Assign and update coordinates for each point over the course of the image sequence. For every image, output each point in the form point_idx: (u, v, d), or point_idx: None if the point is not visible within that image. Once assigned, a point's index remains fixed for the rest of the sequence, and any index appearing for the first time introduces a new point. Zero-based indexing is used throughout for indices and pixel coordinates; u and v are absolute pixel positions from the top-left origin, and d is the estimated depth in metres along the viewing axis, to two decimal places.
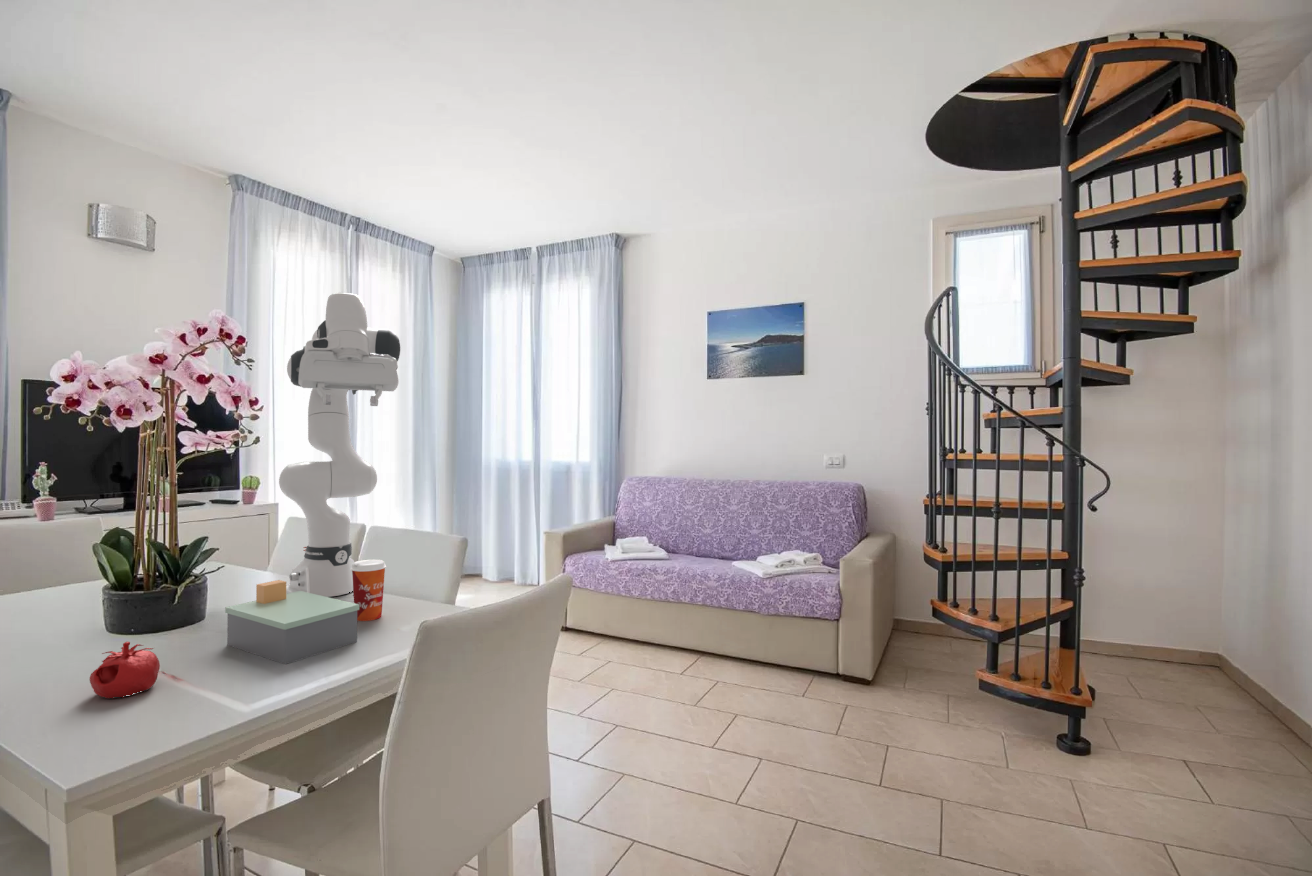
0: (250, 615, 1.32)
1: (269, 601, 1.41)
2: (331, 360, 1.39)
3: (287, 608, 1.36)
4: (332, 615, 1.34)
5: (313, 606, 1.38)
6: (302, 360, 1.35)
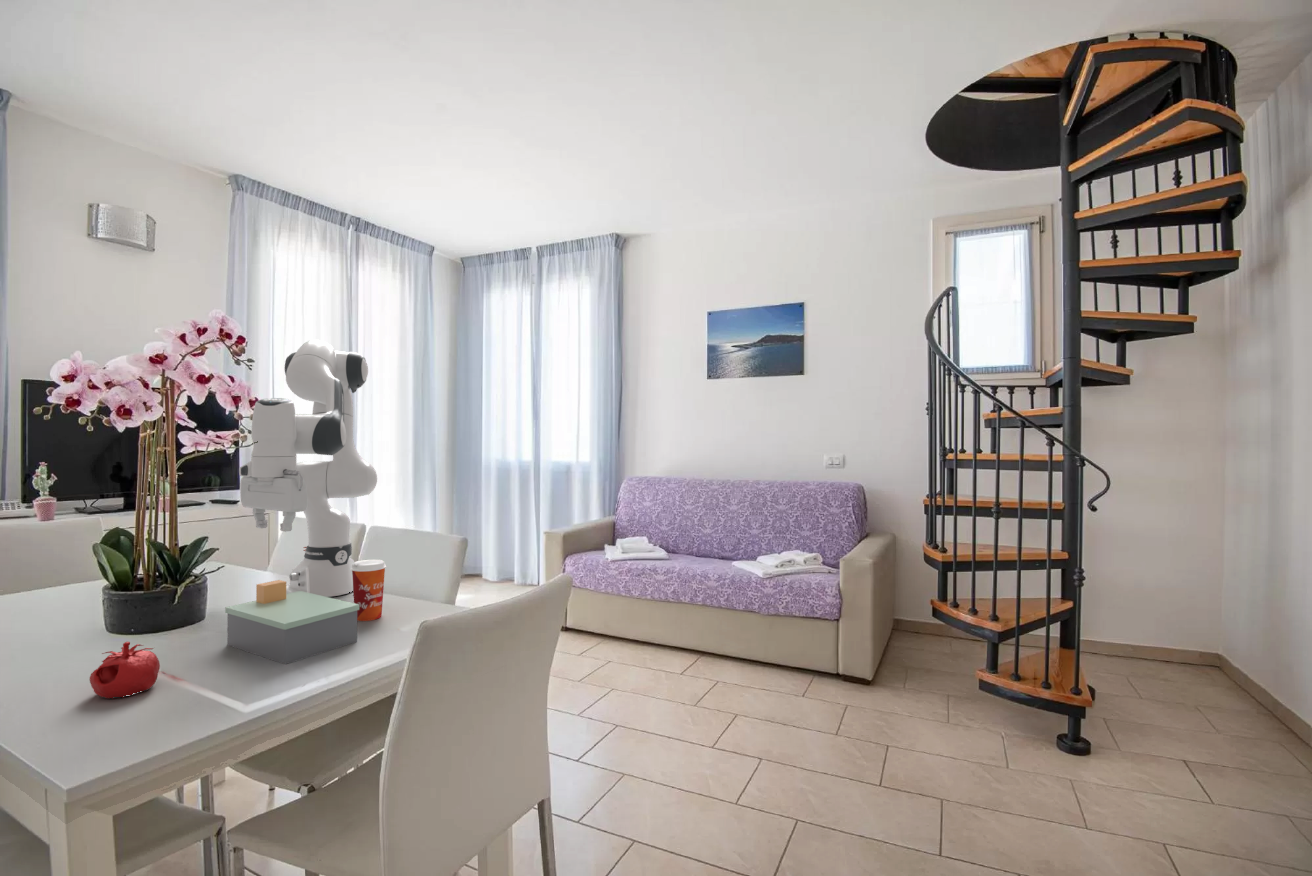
0: (250, 615, 1.32)
1: (269, 601, 1.41)
2: (257, 484, 1.42)
3: (287, 608, 1.36)
4: (332, 615, 1.34)
5: (313, 606, 1.38)
6: (240, 487, 1.45)
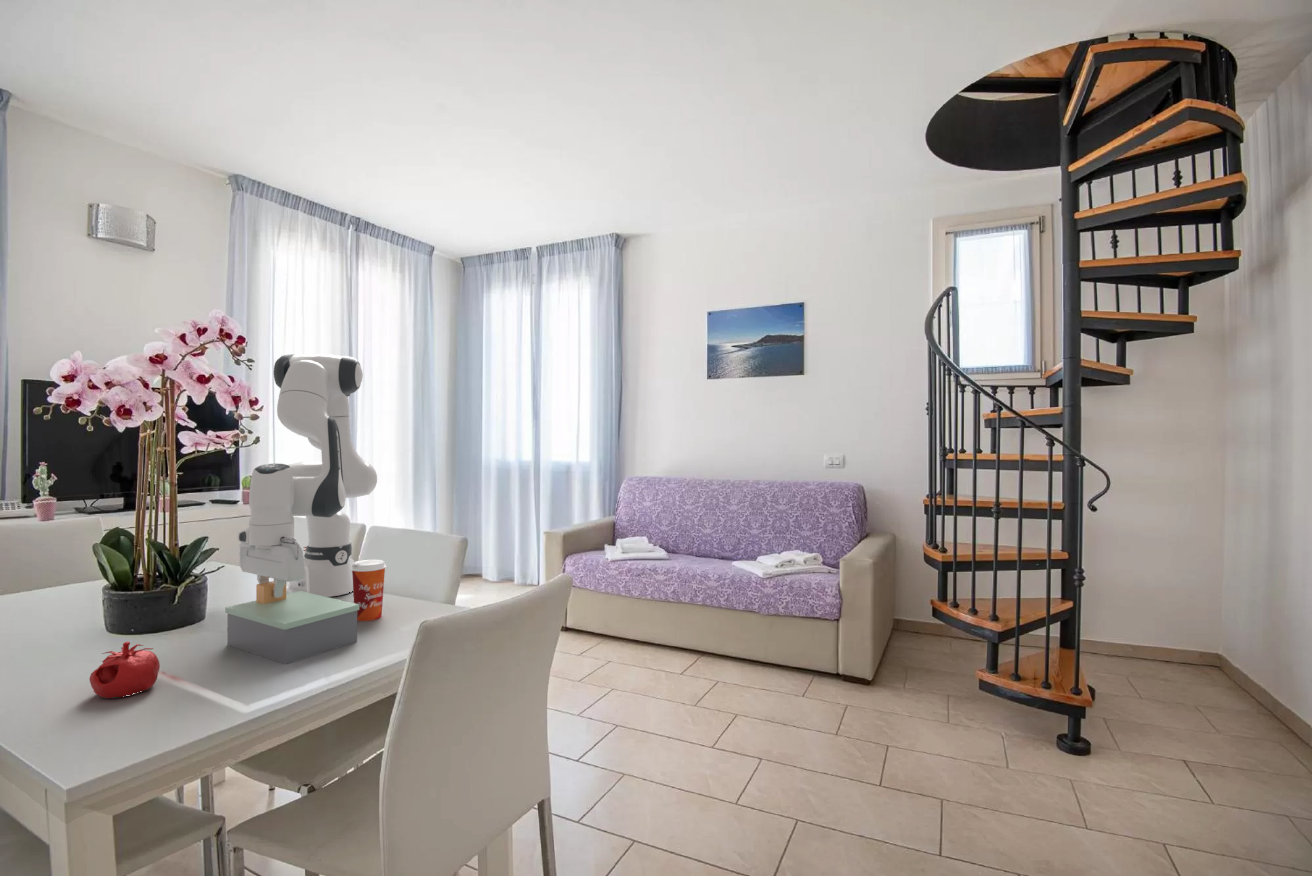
0: (250, 615, 1.32)
1: (269, 601, 1.41)
2: (255, 550, 1.43)
3: (287, 608, 1.36)
4: (332, 615, 1.34)
5: (313, 606, 1.38)
6: (239, 552, 1.45)
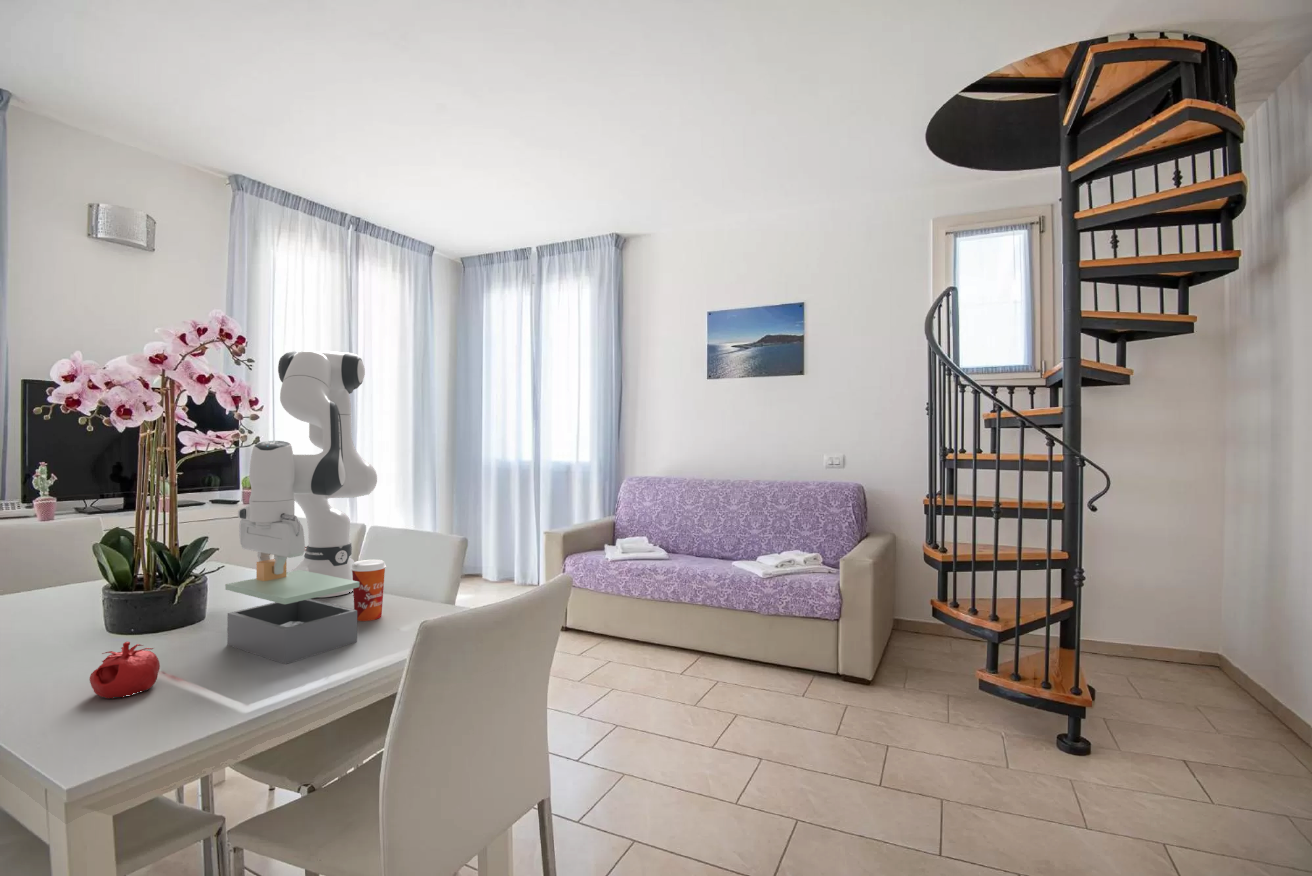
0: (250, 591, 1.32)
1: (269, 578, 1.41)
2: (255, 527, 1.43)
3: (287, 585, 1.36)
4: (332, 591, 1.34)
5: (313, 583, 1.38)
6: (239, 529, 1.45)
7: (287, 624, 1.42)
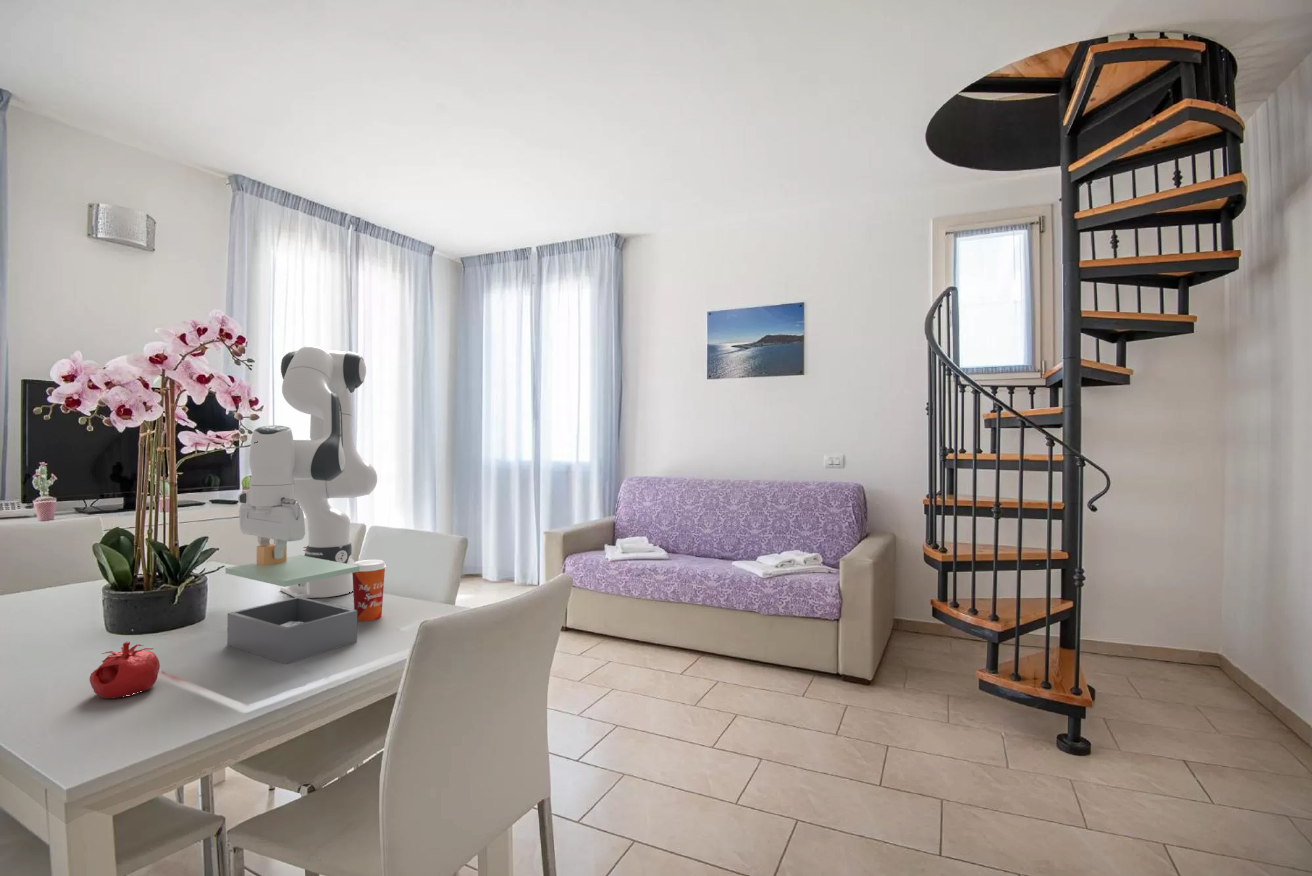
0: (250, 574, 1.32)
1: (269, 563, 1.41)
2: (255, 512, 1.43)
3: (287, 569, 1.36)
4: (332, 575, 1.34)
5: (313, 567, 1.38)
6: (239, 514, 1.45)
7: (287, 624, 1.42)
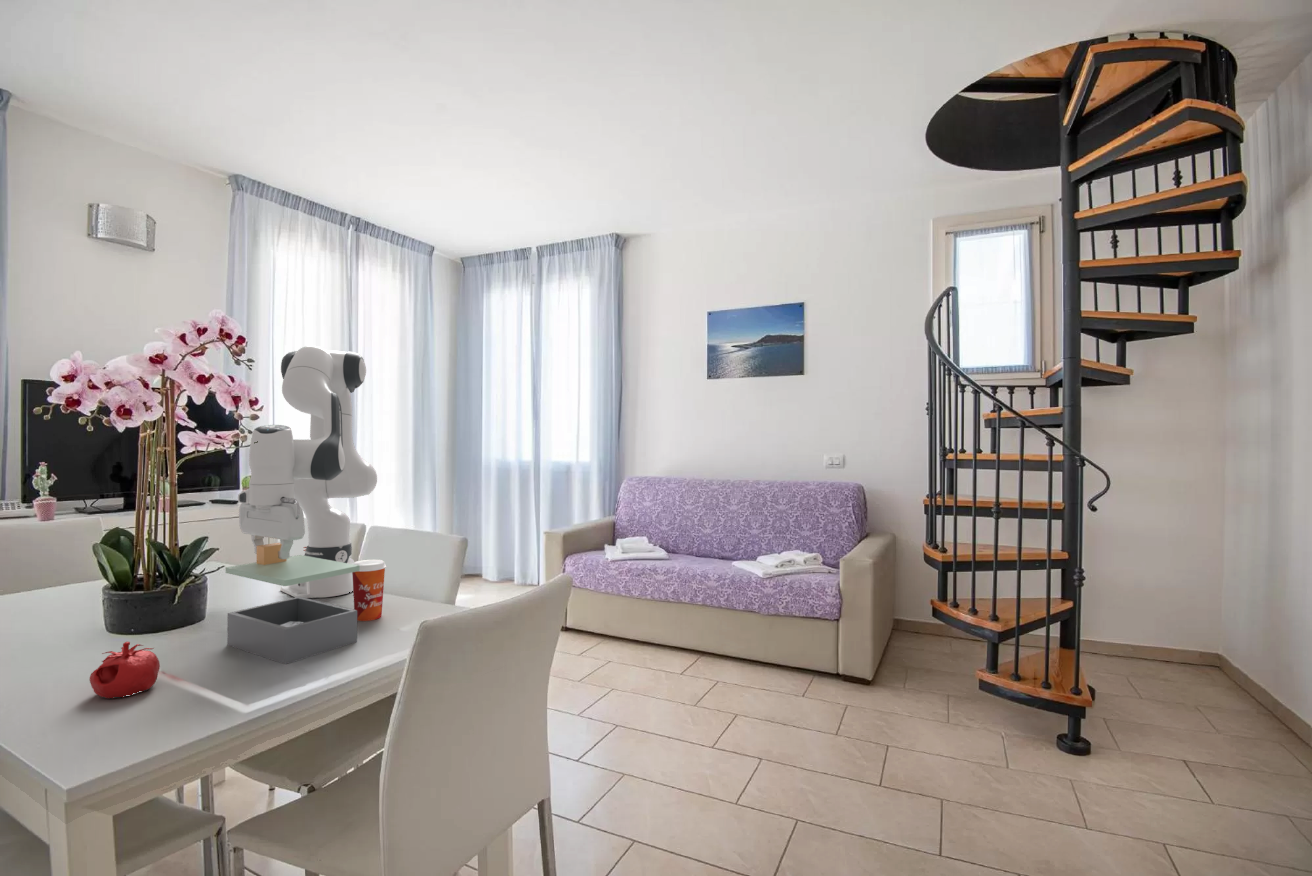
0: (250, 574, 1.32)
1: (269, 562, 1.41)
2: (255, 511, 1.43)
3: (287, 568, 1.36)
4: (332, 574, 1.34)
5: (313, 567, 1.38)
6: (239, 513, 1.45)
7: (287, 624, 1.42)
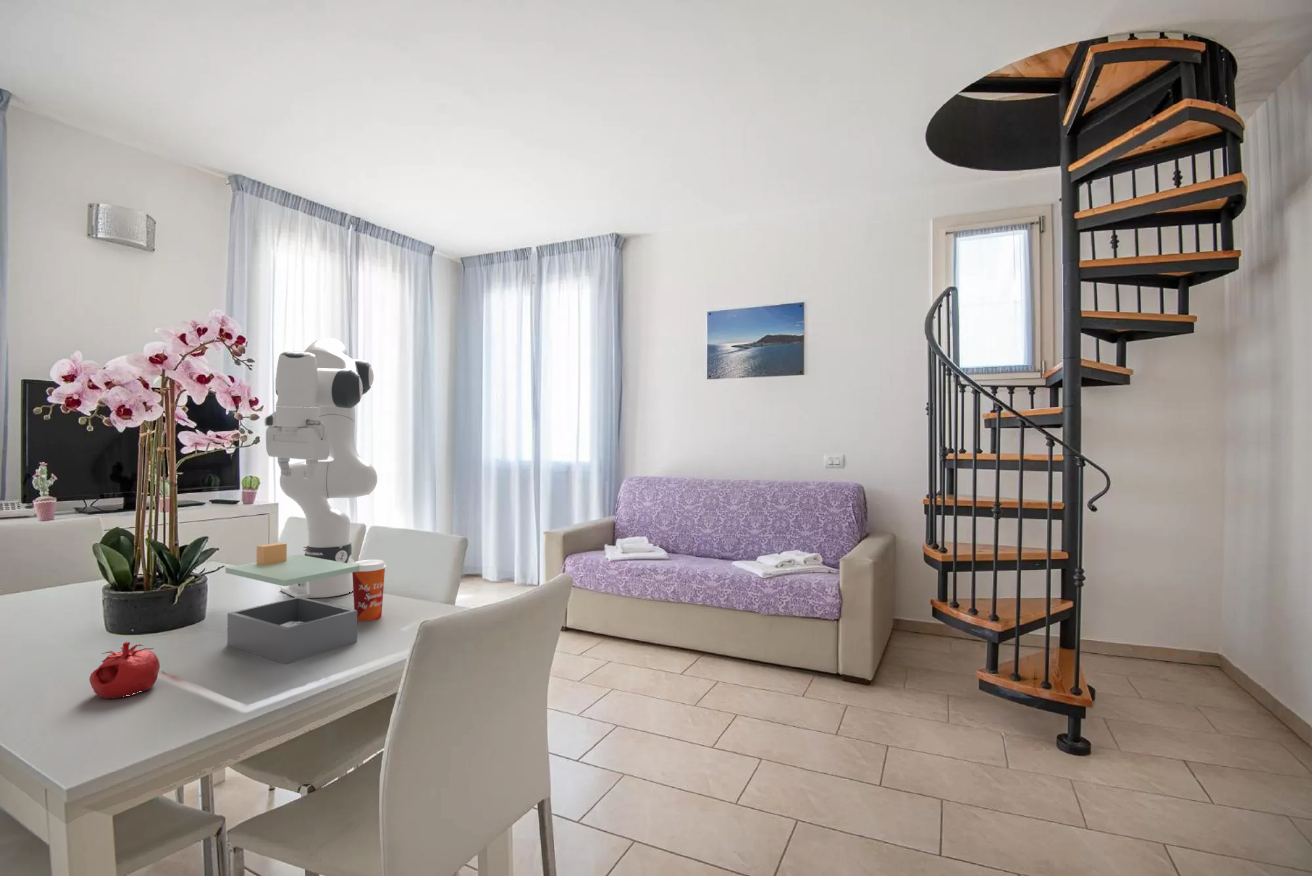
0: (250, 574, 1.32)
1: (269, 562, 1.41)
2: (281, 434, 1.48)
3: (287, 568, 1.36)
4: (332, 574, 1.34)
5: (313, 567, 1.38)
6: (266, 437, 1.51)
7: (287, 624, 1.42)
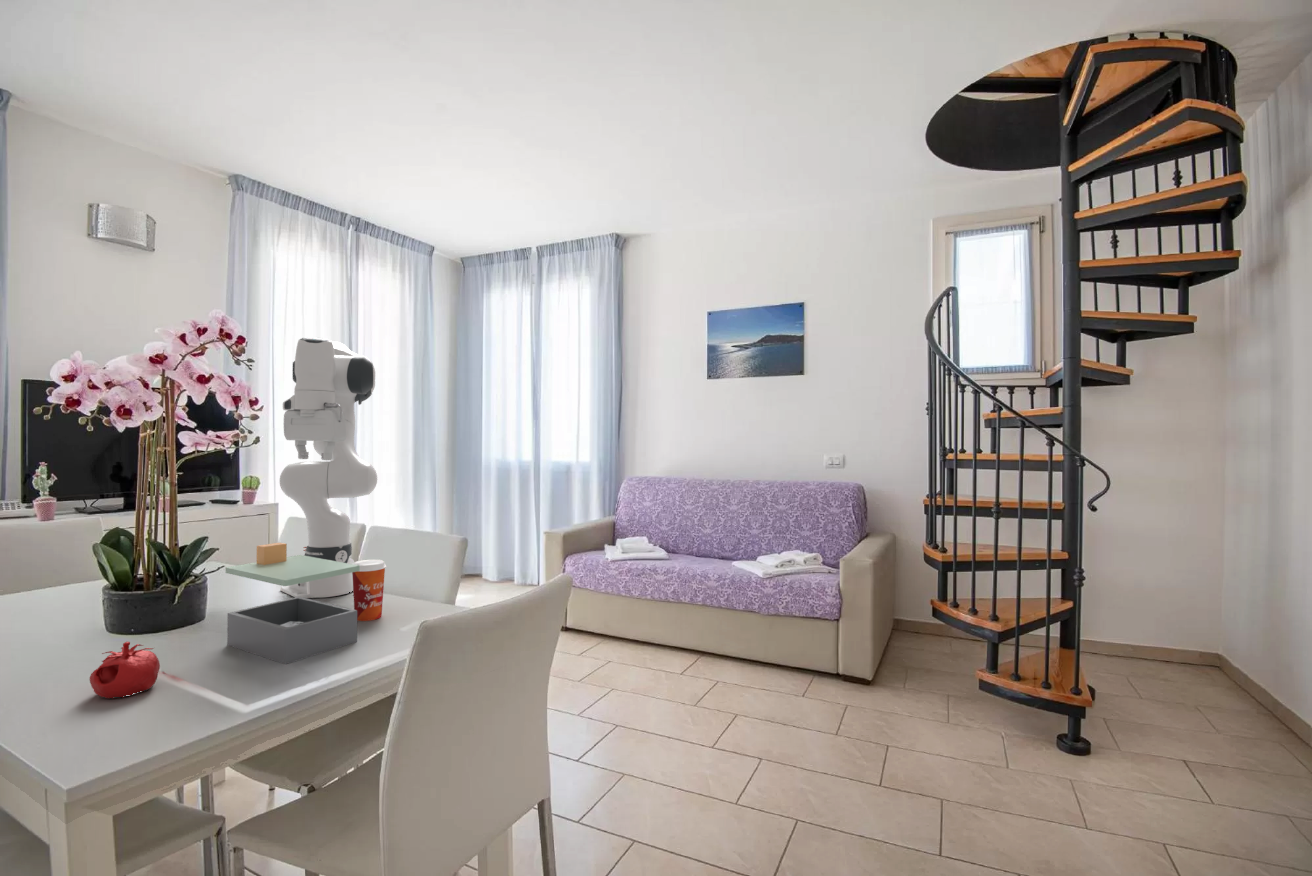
0: (250, 574, 1.32)
1: (269, 562, 1.41)
2: (299, 418, 1.53)
3: (287, 568, 1.36)
4: (332, 574, 1.34)
5: (313, 567, 1.38)
6: None
7: (287, 624, 1.42)
